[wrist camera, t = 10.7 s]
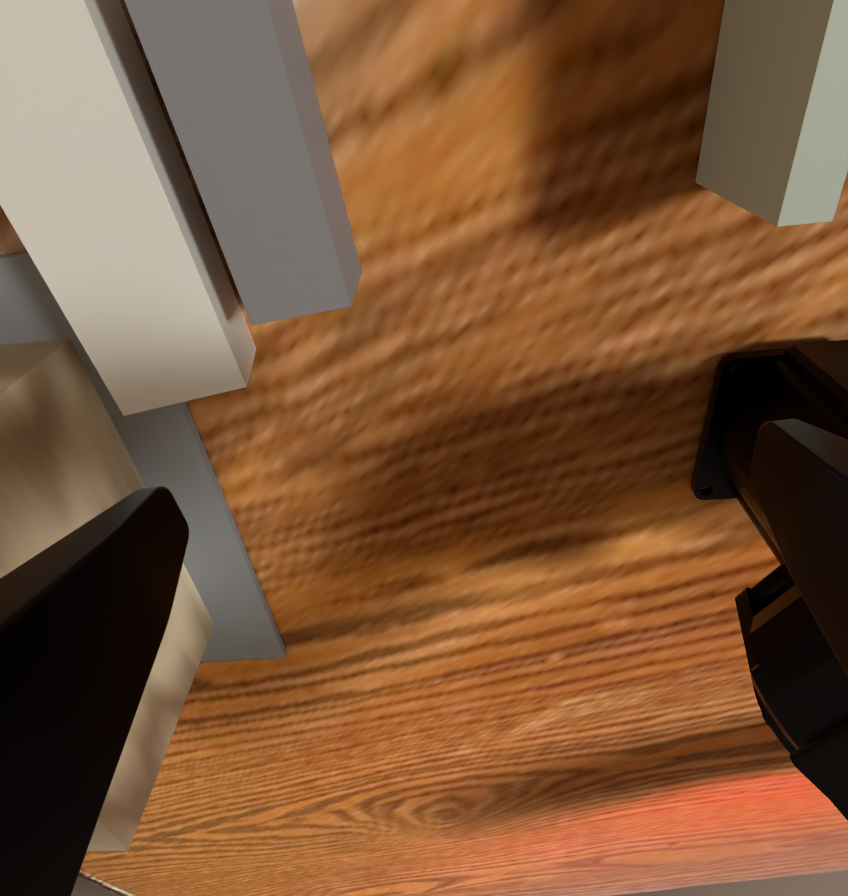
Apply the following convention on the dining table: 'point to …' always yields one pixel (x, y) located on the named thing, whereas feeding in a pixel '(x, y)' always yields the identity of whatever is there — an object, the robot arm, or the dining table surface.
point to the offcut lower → (112, 207)
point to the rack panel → (779, 109)
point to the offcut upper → (255, 148)
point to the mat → (162, 477)
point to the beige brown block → (67, 508)
